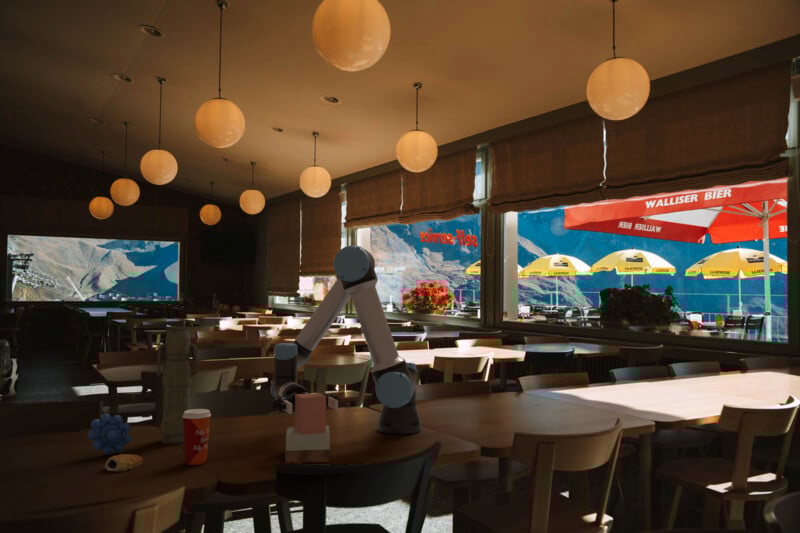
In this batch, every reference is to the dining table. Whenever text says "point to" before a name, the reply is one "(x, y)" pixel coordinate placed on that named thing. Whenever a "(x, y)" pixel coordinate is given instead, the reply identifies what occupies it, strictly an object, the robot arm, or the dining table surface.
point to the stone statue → (176, 383)
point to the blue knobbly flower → (109, 434)
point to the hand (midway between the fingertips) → (314, 407)
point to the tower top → (307, 440)
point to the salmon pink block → (310, 413)
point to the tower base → (307, 456)
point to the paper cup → (196, 435)
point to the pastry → (123, 462)
